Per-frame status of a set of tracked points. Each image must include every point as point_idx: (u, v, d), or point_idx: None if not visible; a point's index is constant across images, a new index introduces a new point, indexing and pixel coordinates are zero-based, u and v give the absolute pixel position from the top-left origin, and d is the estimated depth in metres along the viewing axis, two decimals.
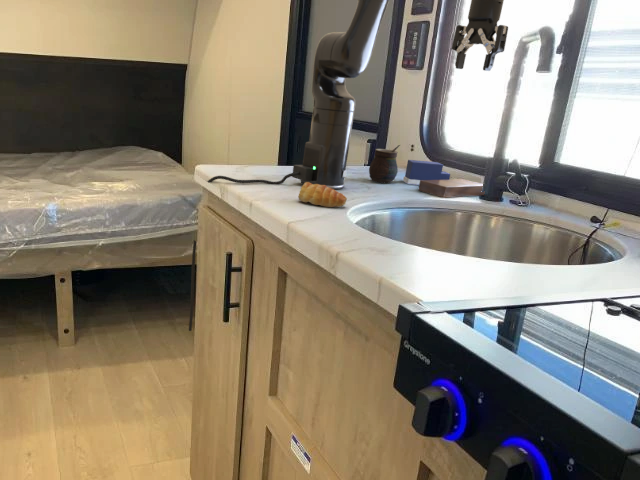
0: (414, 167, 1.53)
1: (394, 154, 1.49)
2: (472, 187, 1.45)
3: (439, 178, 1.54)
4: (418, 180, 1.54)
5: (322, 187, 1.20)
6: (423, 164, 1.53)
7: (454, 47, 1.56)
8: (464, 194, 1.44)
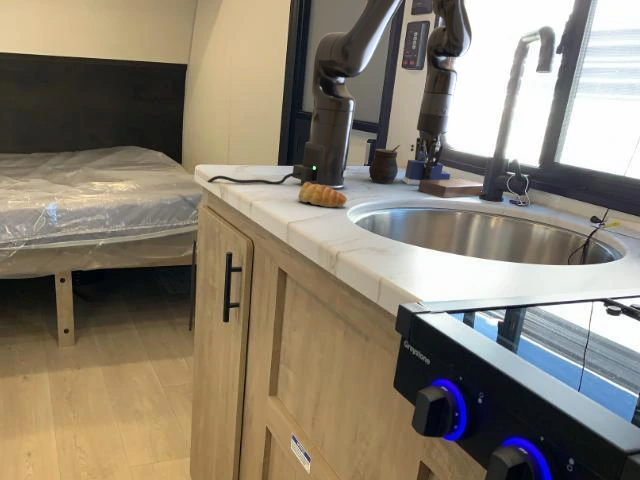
0: (414, 167, 1.53)
1: (394, 154, 1.49)
2: (472, 187, 1.45)
3: (439, 178, 1.54)
4: (418, 180, 1.54)
5: (322, 187, 1.20)
6: (423, 164, 1.53)
7: (416, 157, 1.59)
8: (464, 194, 1.44)
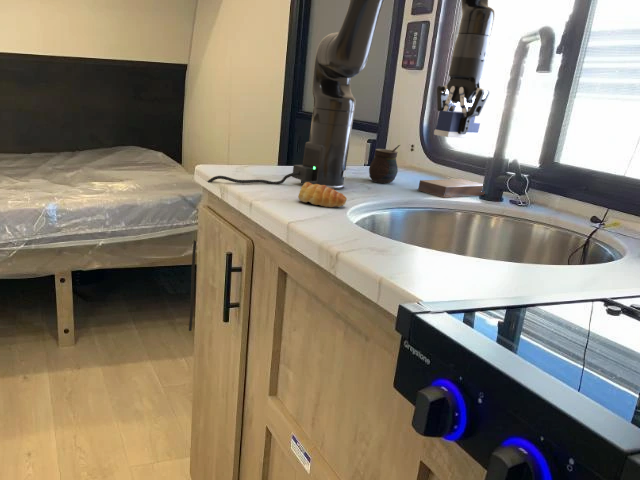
0: (454, 118, 1.40)
1: (394, 154, 1.49)
2: (472, 187, 1.45)
3: (471, 129, 1.44)
4: (456, 132, 1.42)
5: (322, 187, 1.20)
6: (461, 114, 1.41)
7: (440, 108, 1.45)
8: (464, 194, 1.44)
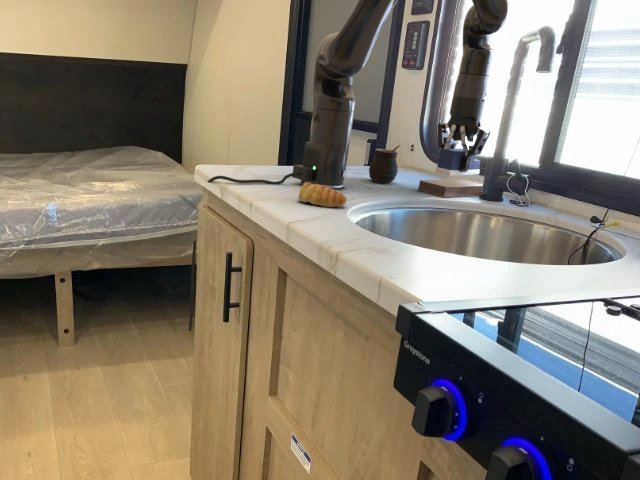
0: (455, 157, 1.40)
1: (394, 154, 1.49)
2: (472, 187, 1.45)
3: (472, 166, 1.45)
4: (457, 170, 1.42)
5: (322, 187, 1.20)
6: (462, 152, 1.41)
7: (441, 145, 1.46)
8: (464, 194, 1.44)
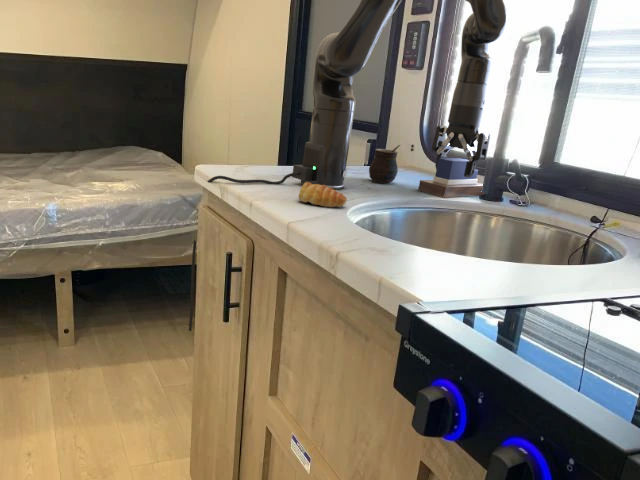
0: (453, 167, 1.41)
1: (394, 154, 1.49)
2: (472, 187, 1.45)
3: None
4: (455, 180, 1.43)
5: (322, 187, 1.20)
6: (460, 162, 1.42)
7: (434, 148, 1.48)
8: (464, 194, 1.44)
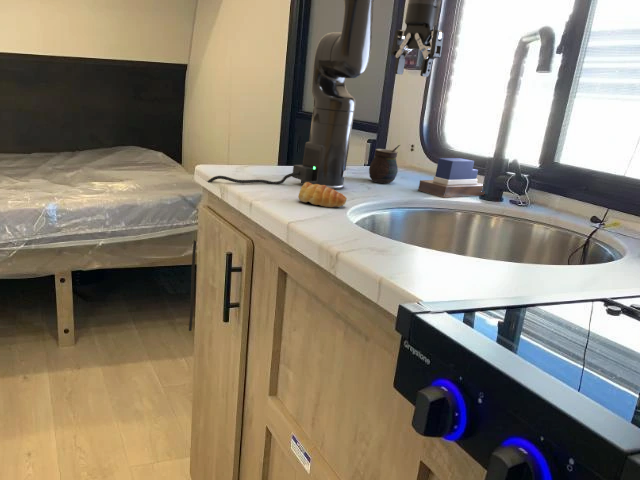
0: (453, 167, 1.41)
1: (394, 154, 1.49)
2: (472, 187, 1.45)
3: (470, 175, 1.46)
4: (455, 180, 1.43)
5: (322, 187, 1.20)
6: (460, 162, 1.42)
7: (393, 52, 1.52)
8: (464, 194, 1.44)
